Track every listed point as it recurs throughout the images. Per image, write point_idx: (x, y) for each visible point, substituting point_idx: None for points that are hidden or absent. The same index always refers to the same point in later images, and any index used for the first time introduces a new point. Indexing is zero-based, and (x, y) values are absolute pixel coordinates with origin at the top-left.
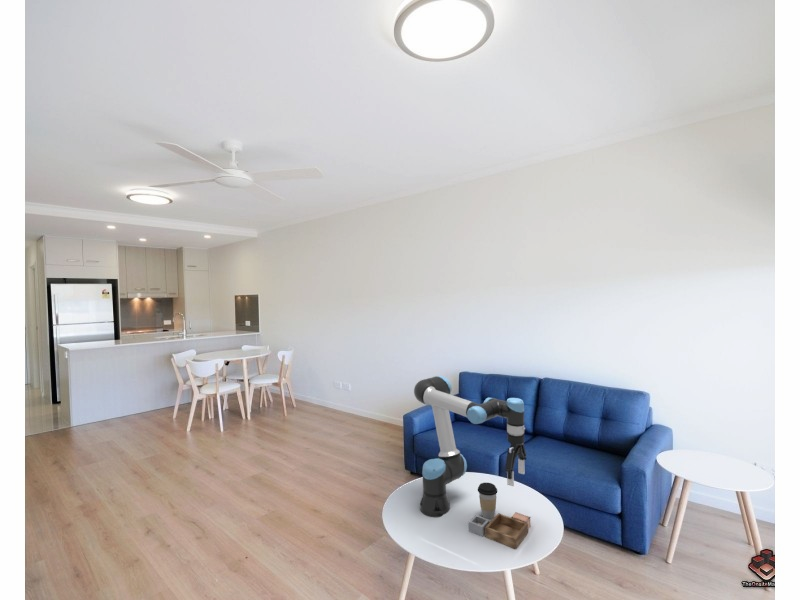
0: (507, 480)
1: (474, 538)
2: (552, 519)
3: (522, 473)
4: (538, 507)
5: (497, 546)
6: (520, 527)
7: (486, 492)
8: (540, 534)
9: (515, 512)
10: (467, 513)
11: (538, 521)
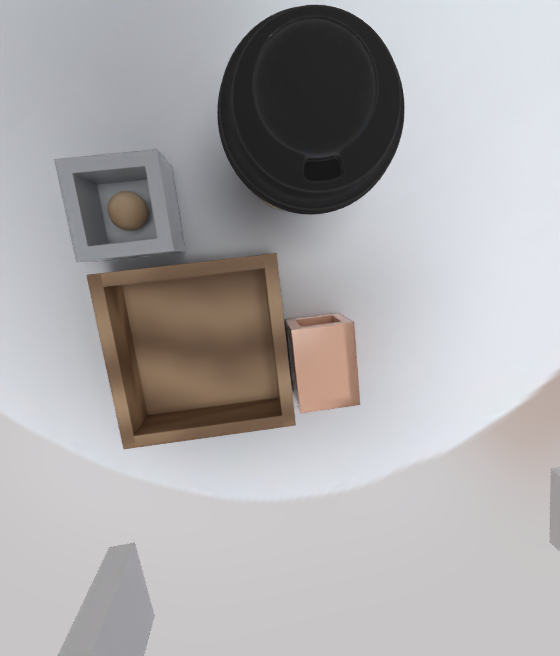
0: (80, 614)
1: None
2: (472, 423)
3: (556, 529)
4: (535, 329)
5: None
6: (277, 381)
7: (239, 149)
8: (327, 438)
9: (349, 324)
10: None
11: (417, 385)
